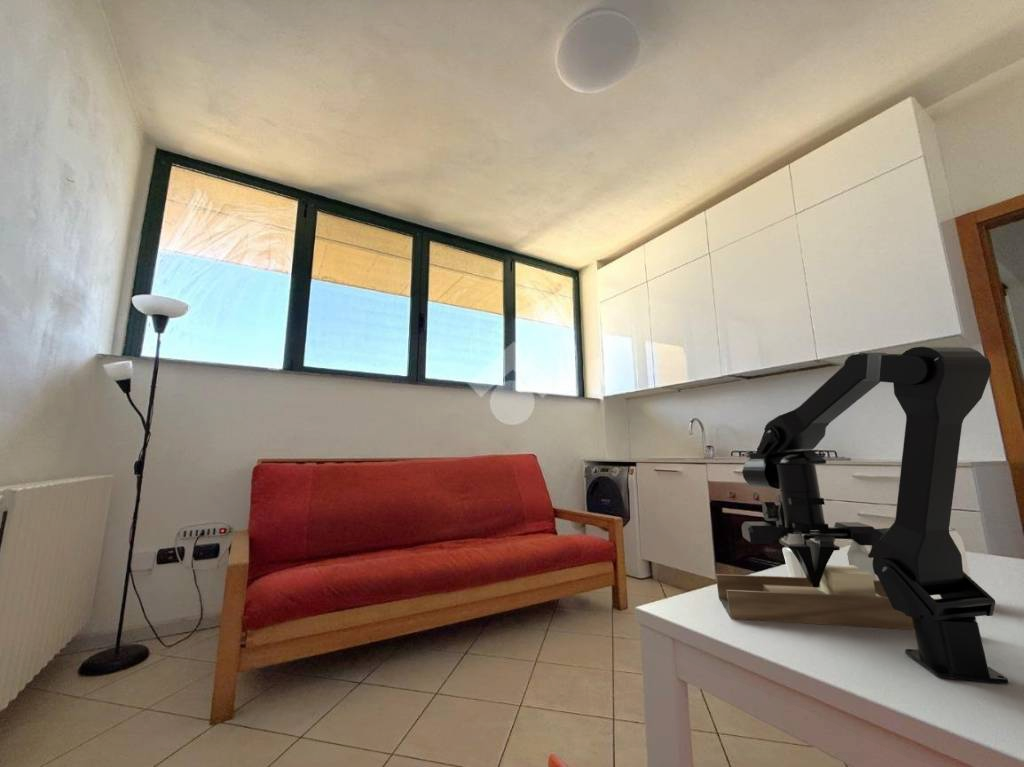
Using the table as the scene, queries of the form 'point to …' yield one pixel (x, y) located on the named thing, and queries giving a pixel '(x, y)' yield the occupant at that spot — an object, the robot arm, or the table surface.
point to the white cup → (792, 564)
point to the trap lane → (805, 603)
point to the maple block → (847, 581)
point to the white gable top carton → (861, 558)
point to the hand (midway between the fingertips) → (814, 586)
